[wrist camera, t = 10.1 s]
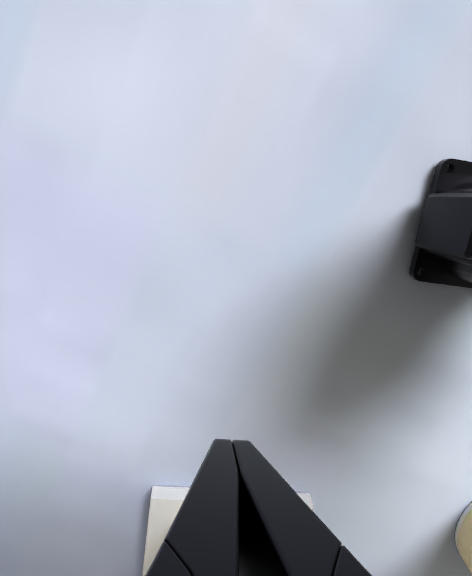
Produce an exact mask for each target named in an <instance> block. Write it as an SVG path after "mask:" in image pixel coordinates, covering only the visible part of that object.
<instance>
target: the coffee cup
mask: <svg viewBox="0 0 472 576" xmlns="http://www.w3.org/2000/svg"><path fill="white" fill-rule="evenodd" d="M455 542H456V546H457V549H458V552H459V554H460V556H461V557H462V559H463V561H464V562H465V564H466V566H467V567H468V569H469V571H470V572H471V574H472V502H471V503H470V504H469V505H468V507H467V508H466V509H465V511H464V512H463V513H462V515H461V517H460V519H459V521H458V523H457V527H456V532H455Z"/></svg>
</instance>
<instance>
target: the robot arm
mask: <svg viewBox="0 0 472 576" xmlns="http://www.w3.org/2000/svg"><path fill="white" fill-rule="evenodd" d="M447 165H448V166H449V172H448V173H446V171H445V168H446V166H447ZM415 242H416V247H415V251H414V255H413V259H412V263H411V267H410V272H409V274H410V276H411V277H412V278H413V279H415V280H418V281H422V282H429V283H437V284H445V285H452V286H460V287H468V288H472V162H468V161H463V160H457V159H444V160H442V161H440V162H439V163H438V165H437V167H436V170H435V174H434V178H433V182H432V186H431V190H430V193H429V196H428V197H427V198H426V202H425V206H424V210H423V214H422V218H421V222H420V225H419V229H418V233H417V237H416V241H415ZM420 268H422V273H421V274H420V275H418V270H419V269H420ZM341 545H342V544H341V542H340V541H339V540H338V538H337V537H336V536H335V535H334V534H333V533H332V532H331V531H330V530H329V529H328V527H327V526H326V525H325V524H324V523H323V522H322V521H321V520H320V519H319V517H318V516H317V515H316V514H315V513H314V512H313V511H312V510H311V509H310V507H309V506H308V505H307V504H306V503H305V502H304V501H303V500H302V499H301V498H300V496H299V495H298V494H297V493H296V492H295V491H294V490H293V489H292V488H291V486H290V485H289V484H288V483H287V482H286V481H285V480H284V479H283V478H282V477H281V475H280V474H279V473H278V472H277V471H276V470H275V469H274V468H273V467H272V465H271V464H270V463H269V462H268V461H267V460H266V459H265V458H264V457H263V456H262V454H261V453H260V452H259V451H258V450H257V449H256V448H255V447H254V446H253V444H252V443H251V442H249V441H246V440H233V441H232V442H231V440H227V439H215V440H214V441H213V443H212V445H211V447H210V449H209V451H208V453H207V455H206V457H205V459H204V461H203V463H202V465H201V467H200V469H199V471H198V473H197V475H196V477H195V479H194V481H193V483H192V485H191V487H190V489H189V491H188V493H187V495H186V497H185V499H184V501H183V503H182V505H181V507H180V509H179V511H178V513H177V515H176V517H175V519H174V521H173V523H172V525H171V527H170V529H169V531H168V533H167V535H166V537H165V539H164V542H163V543H162V544H161V546H160V548H159V550H158V552H157V554H156V556H155V558H154V560H153V562H152V564H151V565H150V567H149V569H148V571H147V573H146V575H145V576H372V575H371V574H370V573H369V572H368V571H367V570H366V569H365V568H364V567H363V566H362V565H361V564H360V562H359V561H358V560H357V559H356V558H355V557H354V556H353V555H352V554H351V553H350V552H349V550H348V549H347V548H346V547H345V546H341Z"/></svg>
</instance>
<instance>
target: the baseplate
mask: <svg viewBox="0 0 472 576" xmlns="http://www.w3.org/2000/svg"><path fill="white" fill-rule="evenodd" d="M189 489H190V487H169V486H153V487H152V494H151V501H150V510H149V519H148V528H147V537H146V546H145V555H144V563H143V572H142V576H145V575H146V573H147V571H148V569H149V567H150V565H151V564H152V562H153V560H154V558H155V556H156V554H157V552H158V550H159V548H160V546H161V544H162V543H163V542H164V539H165V537H166V535H167V533H168V531H169V529H170V527H171V525H172V523H173V521H174V519H175V517H176V515H177V513H178V511H179V509H180V507H181V505H182V503H183V501H184V499H185V497H186V495H187V493H188V491H189ZM297 494H298V495H299V496H300V498H301V499H302V500H303V501H304V502H305V503H306V504H307V505H308V506H309V507H310V509H311V510H312V511H313V507H314V505H313V502H312V499H311V497H310V494H309V493H297Z"/></svg>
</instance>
